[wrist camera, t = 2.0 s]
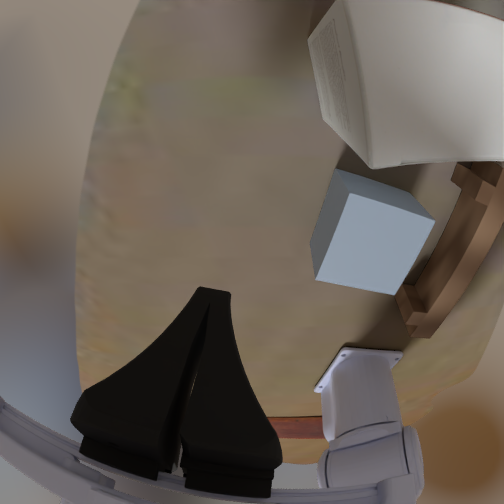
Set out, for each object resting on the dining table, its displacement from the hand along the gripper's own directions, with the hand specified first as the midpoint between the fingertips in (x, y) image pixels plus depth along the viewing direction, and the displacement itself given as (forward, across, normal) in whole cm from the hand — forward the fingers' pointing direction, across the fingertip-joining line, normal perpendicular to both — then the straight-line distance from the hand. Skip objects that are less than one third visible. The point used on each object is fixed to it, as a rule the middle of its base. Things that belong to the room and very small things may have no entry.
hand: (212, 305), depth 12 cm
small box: (+10, -7, -11) cm, 16 cm away
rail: (+10, -18, -1) cm, 20 cm away
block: (+10, -9, -1) cm, 13 cm away
